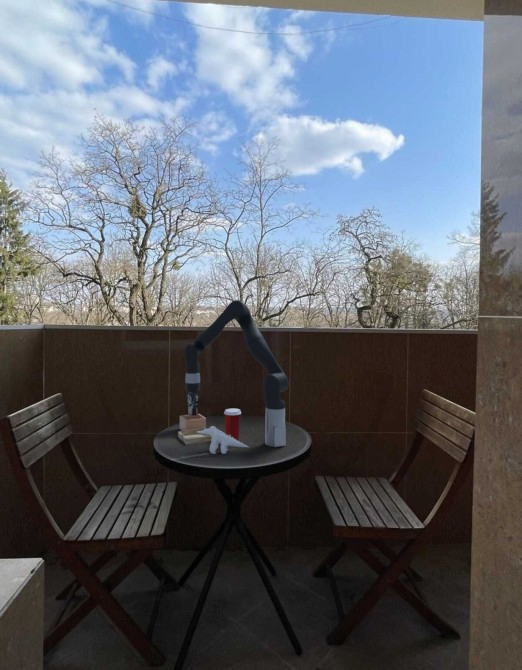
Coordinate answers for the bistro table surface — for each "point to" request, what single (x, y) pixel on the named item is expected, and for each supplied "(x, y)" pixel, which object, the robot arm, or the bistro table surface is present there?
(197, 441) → the tray
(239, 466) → the bistro table surface
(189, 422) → the bin
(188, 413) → the stone
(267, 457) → the bistro table surface
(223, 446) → the dinosaur statue
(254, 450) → the bistro table surface
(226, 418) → the coffee cup
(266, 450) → the bistro table surface
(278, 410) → the robot arm
